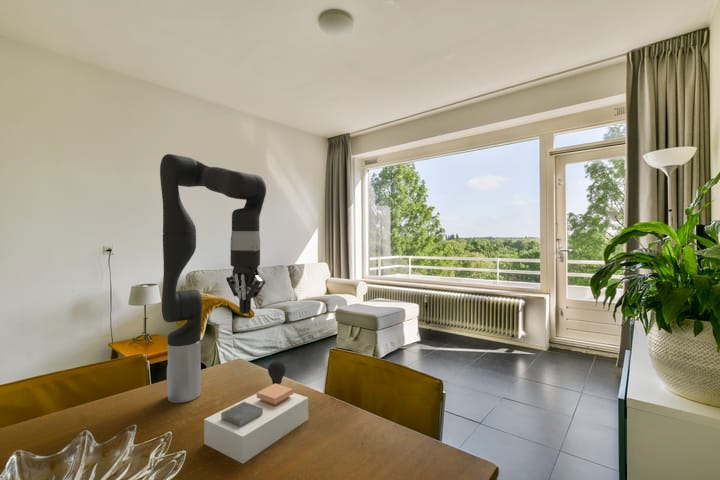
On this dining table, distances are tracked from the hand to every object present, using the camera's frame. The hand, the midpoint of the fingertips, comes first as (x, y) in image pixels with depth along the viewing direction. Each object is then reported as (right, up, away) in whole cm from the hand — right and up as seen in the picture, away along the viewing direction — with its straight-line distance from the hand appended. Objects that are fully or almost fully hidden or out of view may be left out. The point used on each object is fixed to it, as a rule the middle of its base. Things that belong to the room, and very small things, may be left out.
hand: (245, 313), depth 92 cm
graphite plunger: (+2, -29, -8) cm, 30 cm away
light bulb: (+4, -30, +20) cm, 36 cm away
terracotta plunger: (+8, -28, +2) cm, 29 cm away
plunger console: (+5, -30, -3) cm, 30 cm away
